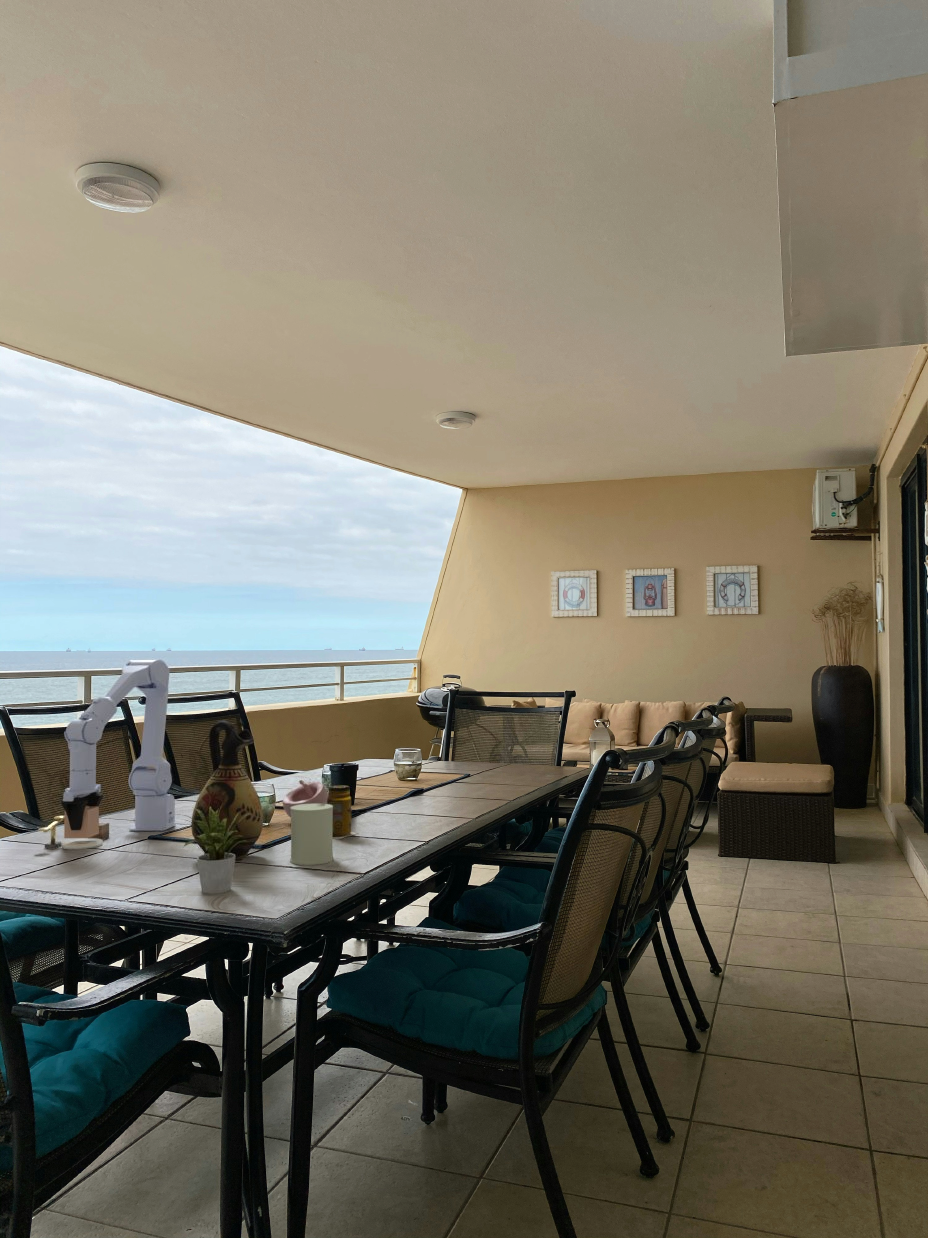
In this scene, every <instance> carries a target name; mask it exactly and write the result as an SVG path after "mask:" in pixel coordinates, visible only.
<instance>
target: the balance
mask: <svg viewBox="0 0 928 1238" xmlns="http://www.w3.org/2000/svg"><path fill="white" fill-rule="evenodd" d="M64 816H65V815H56V816H53V820H55V821H53V822H52V823H50V824H49V825H48V826H45V827H41V828H40V827H39V828H38V832H43V833H48V832H50V841H49V842H46V843H45V844H44V849H45V848H47V849H48V848H55V849H57V848H59V847H58V846H60V847H61V843H62V841H56V835H57V833H56V828H57V827H56V826H57V825H58V824H60V823H61V822H63V820H64ZM56 847H57V848H56Z"/></svg>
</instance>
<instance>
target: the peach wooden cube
mask: <svg viewBox="0 0 928 1238" xmlns="http://www.w3.org/2000/svg"><path fill="white" fill-rule="evenodd" d="M99 806H100V805H99ZM99 806H87V805H86V807H85V810H84V814H83V821H82V827H81V830H71V828H70V824H69V820H68V816H67V814H66V811H65V810H64V815H63V816H64V819H63V820H64V824H63V825H64V827H63V828H64V830H63V831H64V832H63V833H64V836H63V838H64V839H85V838H89V837H92V836H94V835H96V834H99V823H100V807H99Z"/></svg>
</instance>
